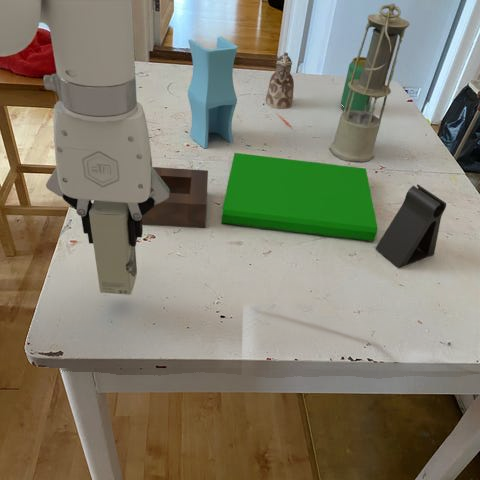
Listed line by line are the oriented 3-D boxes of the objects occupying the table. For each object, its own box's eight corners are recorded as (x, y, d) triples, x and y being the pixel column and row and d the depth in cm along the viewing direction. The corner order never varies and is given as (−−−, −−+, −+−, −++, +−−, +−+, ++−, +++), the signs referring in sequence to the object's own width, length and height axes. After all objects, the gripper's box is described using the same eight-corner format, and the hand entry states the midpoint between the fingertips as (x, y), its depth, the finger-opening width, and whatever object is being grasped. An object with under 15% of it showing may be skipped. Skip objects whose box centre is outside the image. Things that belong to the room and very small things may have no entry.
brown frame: (139, 224, 85) (137, 200, 81) (147, 189, 93) (145, 166, 89) (205, 228, 86) (206, 204, 82) (207, 193, 94) (208, 170, 90)
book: (233, 165, 102) (234, 152, 100) (362, 181, 102) (365, 168, 100) (221, 224, 87) (222, 210, 85) (373, 243, 87) (377, 229, 84)
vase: (216, 128, 114) (220, 36, 100) (233, 142, 110) (240, 47, 96) (187, 134, 111) (187, 39, 97) (204, 148, 107) (207, 51, 92)
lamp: (375, 147, 114) (419, 2, 93) (369, 171, 106) (416, 17, 84) (333, 138, 116) (367, -7, 94) (324, 161, 107) (358, 7, 86)
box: (131, 296, 65) (125, 217, 56) (99, 293, 64) (87, 213, 55) (137, 272, 68) (133, 193, 59) (107, 269, 68) (97, 189, 59)
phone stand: (410, 237, 89) (434, 179, 80) (433, 255, 85) (461, 197, 77) (374, 249, 85) (395, 190, 77) (397, 268, 82) (422, 209, 73)
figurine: (262, 105, 127) (268, 56, 118) (269, 96, 131) (275, 48, 123) (288, 110, 125) (296, 61, 117) (294, 101, 130) (301, 53, 122)
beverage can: (366, 117, 127) (379, 69, 118) (337, 111, 128) (348, 63, 119) (370, 106, 132) (383, 60, 123) (342, 100, 133) (352, 54, 125)
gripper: (0, 98, 45) (39, 252, 58) (179, 115, 46) (177, 261, 59) (24, 71, 50) (54, 217, 63) (184, 87, 51) (181, 226, 64)
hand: (114, 237), depth 61 cm, fingers closed on box, 4 cm apart
